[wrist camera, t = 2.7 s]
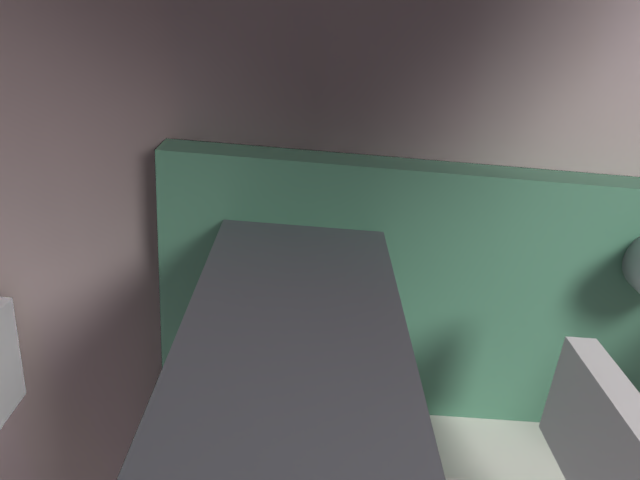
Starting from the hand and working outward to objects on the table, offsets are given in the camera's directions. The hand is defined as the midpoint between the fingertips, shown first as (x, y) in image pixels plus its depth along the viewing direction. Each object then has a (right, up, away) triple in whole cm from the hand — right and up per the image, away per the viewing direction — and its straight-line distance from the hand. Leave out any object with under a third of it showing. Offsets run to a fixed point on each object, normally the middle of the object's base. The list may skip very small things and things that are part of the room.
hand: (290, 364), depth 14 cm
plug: (0, +1, +3) cm, 3 cm away
